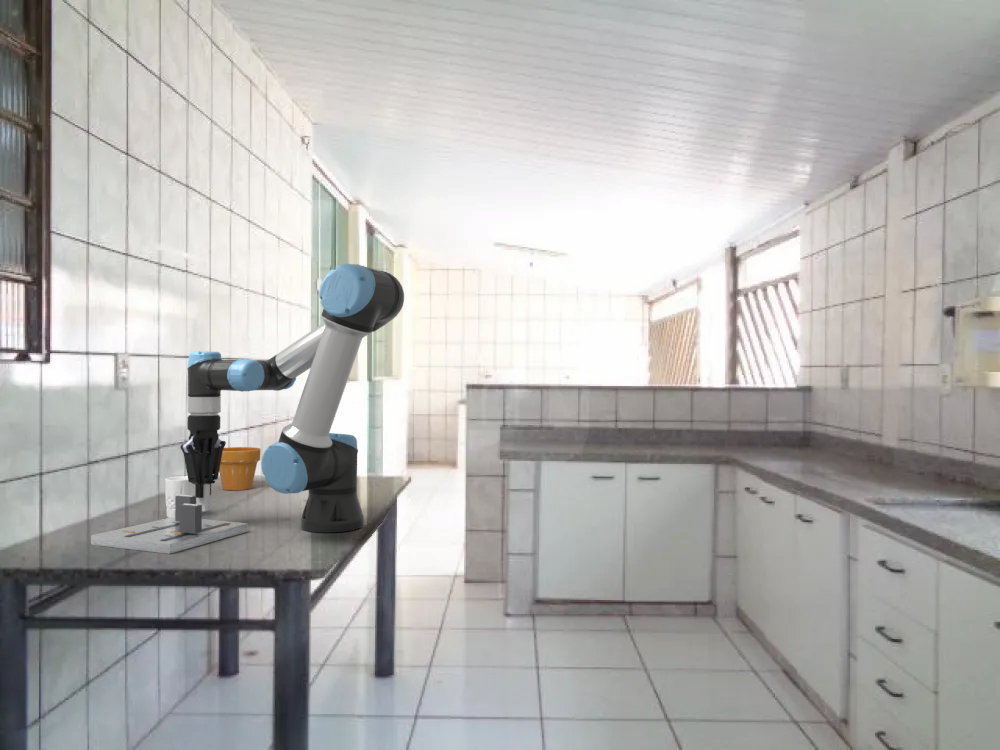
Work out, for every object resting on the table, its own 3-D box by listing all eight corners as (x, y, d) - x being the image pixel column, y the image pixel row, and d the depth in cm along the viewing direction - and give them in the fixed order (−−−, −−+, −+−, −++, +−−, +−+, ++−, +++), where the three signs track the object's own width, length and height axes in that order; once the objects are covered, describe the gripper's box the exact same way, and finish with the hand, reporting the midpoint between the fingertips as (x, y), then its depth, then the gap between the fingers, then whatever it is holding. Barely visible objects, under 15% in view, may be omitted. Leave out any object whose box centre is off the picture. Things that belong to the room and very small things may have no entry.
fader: (201, 532, 165) (201, 504, 165) (194, 533, 163) (195, 505, 163) (186, 530, 166) (186, 502, 166) (179, 532, 164) (179, 504, 164)
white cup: (184, 519, 190) (185, 480, 190) (157, 518, 192) (158, 479, 192) (203, 514, 198) (203, 476, 198) (176, 512, 200) (177, 475, 200)
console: (247, 531, 176) (247, 522, 176) (169, 554, 154) (169, 543, 154) (175, 524, 184) (175, 515, 184) (91, 544, 162) (91, 534, 162)
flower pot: (226, 485, 251) (227, 446, 251) (267, 486, 249) (267, 447, 249) (205, 491, 237) (206, 450, 237) (248, 492, 235) (249, 451, 235)
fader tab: (195, 521, 177) (196, 495, 177) (189, 522, 175) (190, 496, 175) (181, 519, 178) (181, 494, 178) (175, 521, 176) (175, 495, 176)
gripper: (211, 412, 189) (210, 505, 189) (171, 415, 177) (170, 513, 177) (234, 413, 187) (233, 507, 187) (196, 415, 175) (195, 516, 174)
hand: (203, 510), depth 182 cm, fingers closed
